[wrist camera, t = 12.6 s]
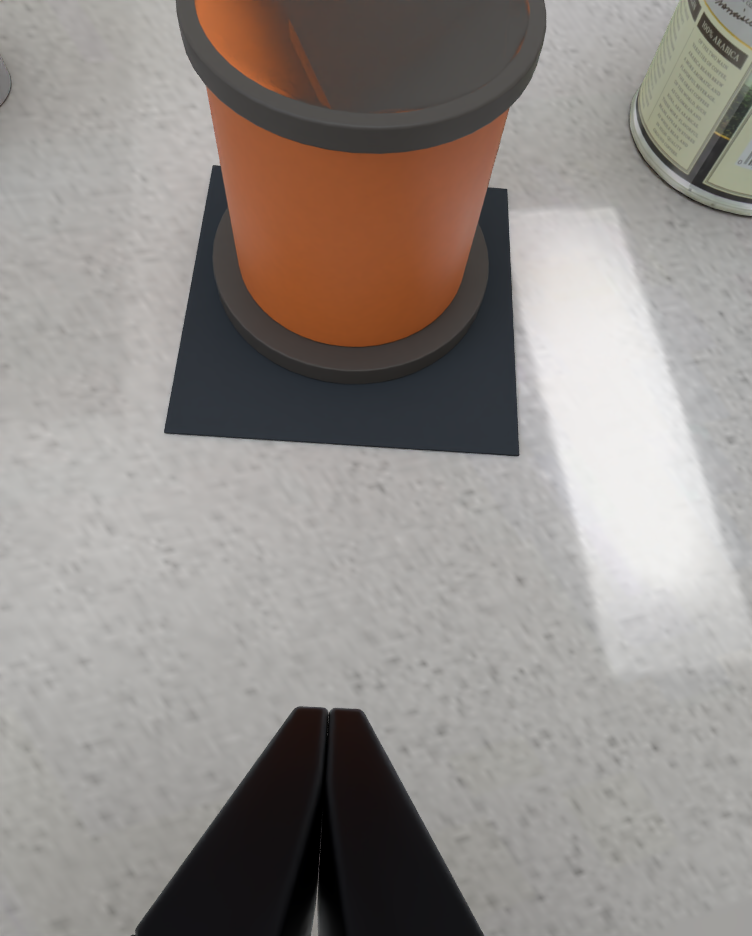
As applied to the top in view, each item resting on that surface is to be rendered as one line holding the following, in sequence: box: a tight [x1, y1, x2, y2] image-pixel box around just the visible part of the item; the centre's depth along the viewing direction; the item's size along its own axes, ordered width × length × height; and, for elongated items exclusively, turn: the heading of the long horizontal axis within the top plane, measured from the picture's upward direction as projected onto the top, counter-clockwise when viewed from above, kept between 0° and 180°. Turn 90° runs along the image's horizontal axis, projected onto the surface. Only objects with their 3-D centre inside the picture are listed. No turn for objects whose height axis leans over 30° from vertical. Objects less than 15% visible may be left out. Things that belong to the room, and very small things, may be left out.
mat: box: [164, 165, 519, 456], centre depth 28 cm, size 13×13×1 cm
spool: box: [176, 0, 546, 384], centre depth 23 cm, size 11×11×11 cm
